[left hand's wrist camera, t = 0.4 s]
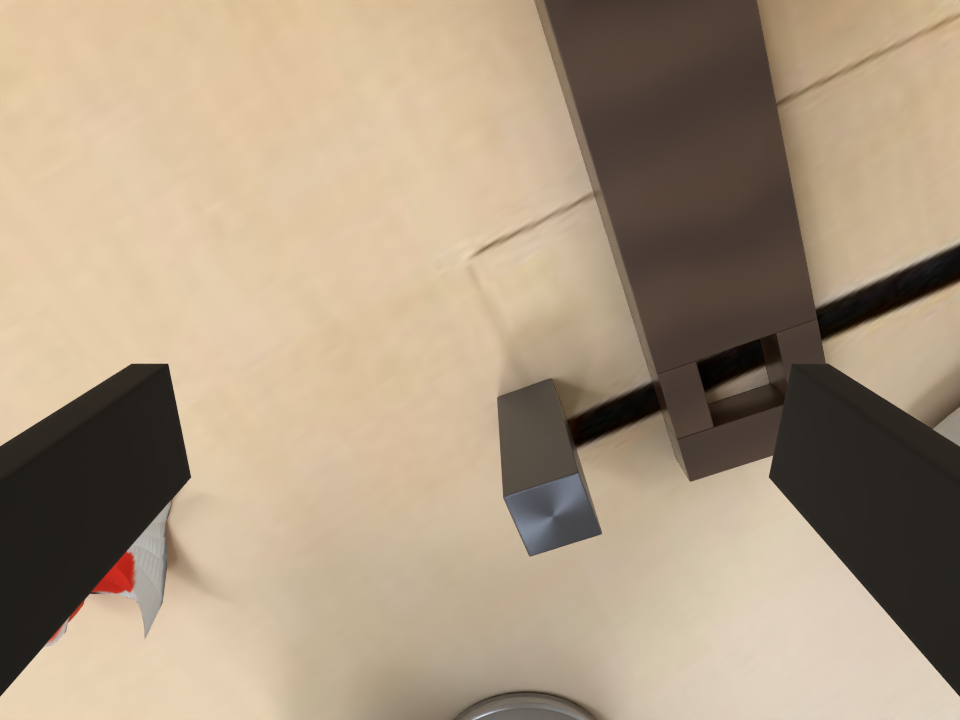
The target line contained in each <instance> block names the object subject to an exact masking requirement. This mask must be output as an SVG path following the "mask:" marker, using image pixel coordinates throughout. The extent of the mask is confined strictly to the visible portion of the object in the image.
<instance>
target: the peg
mask: <svg viewBox="0 0 960 720" xmlns="http://www.w3.org/2000/svg"><path fill="white" fill-rule="evenodd" d="M497 403H498V419H499V436H500V452H501V468H502V485H503V498H504V500H505V503H506V505H507V507H508V509H509V512H510V514H511V516H512V518H513V521H514V523H515V525H516V527H517V530H518V532H519V534H520V536H521V539H522V541H523V543H524V545H525V548H526V550H527V552H528V554H529V556H533V555H536V554H540V553H543V552H546V551H549V550H553V549H556V548H559V547H562V546H565V545H569V544H572V543H575V542H578V541H581V540H585V539H588V538H591V537H594V536H597V535H601V534H602V531H601V528H600V525H599V522H598V518H597V515H596V512H595V509H594V505H593V502H592V499H591V495H590V492H589V489H588V486H587V482H586V479H585V476H584V473H583V469H582V466H581V463H580V459H579V456H578V453H577V450H576V446H575V443H574V440H573V437H572V433H571V430H570V427H569V424H568V421H567V419H566V416H565V413H564V411H563V408H562V405H561V403H560V400H559V397H558V395H557V392H556V389H555V387H554V384H553V381H552V379H548V380H545V381H542V382H540V383H537V384H534V385H531V386H528V387H525V388H523V389H520V390H517V391H514V392H511V393H508V394H506V395H503V396H500V397H498V398H497Z"/></svg>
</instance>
